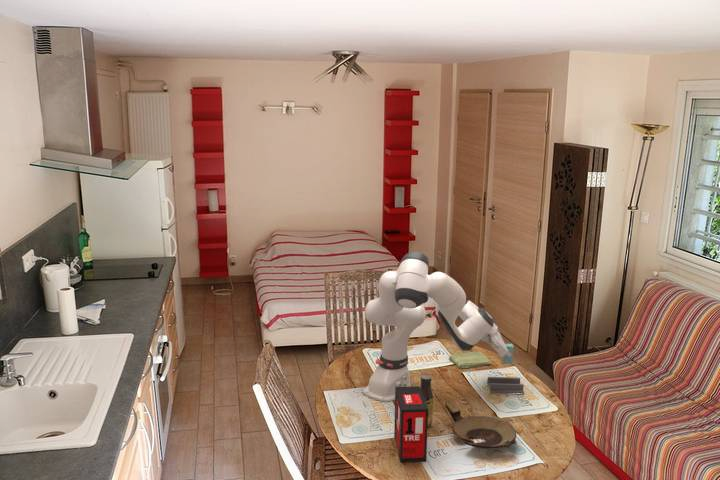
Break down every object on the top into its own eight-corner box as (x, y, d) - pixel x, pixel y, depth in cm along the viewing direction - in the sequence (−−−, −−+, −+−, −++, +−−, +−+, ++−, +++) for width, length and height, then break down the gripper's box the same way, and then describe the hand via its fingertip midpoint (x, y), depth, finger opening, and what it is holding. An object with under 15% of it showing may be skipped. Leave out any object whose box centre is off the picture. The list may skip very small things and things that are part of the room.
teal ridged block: (502, 363, 253) (504, 346, 251) (501, 361, 256) (502, 343, 254) (512, 364, 253) (513, 346, 251) (510, 361, 256) (512, 343, 254)
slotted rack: (490, 393, 253) (491, 385, 252) (486, 382, 263) (487, 375, 262) (523, 394, 253) (524, 386, 252) (518, 383, 262) (519, 376, 262)
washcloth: (493, 366, 280) (493, 359, 280) (459, 371, 275) (460, 364, 274) (479, 355, 293) (480, 349, 292) (447, 359, 287) (447, 353, 286)
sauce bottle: (427, 431, 224) (429, 382, 219) (412, 426, 227) (414, 378, 223) (435, 423, 229) (436, 375, 225) (420, 418, 233) (422, 371, 228)
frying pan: (474, 466, 203) (475, 446, 201) (434, 422, 230) (435, 404, 229) (529, 454, 210) (531, 434, 208) (484, 412, 238) (485, 395, 236)
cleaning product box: (394, 436, 220) (395, 386, 216) (417, 435, 221) (419, 386, 216) (400, 462, 204) (402, 410, 200) (426, 461, 205) (428, 409, 200)
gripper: (497, 335, 241) (519, 358, 243) (488, 317, 261) (509, 339, 263) (485, 345, 242) (508, 368, 244) (478, 327, 262) (499, 348, 264)
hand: (508, 353), depth 254 cm, fingers closed on teal ridged block, 3 cm apart
